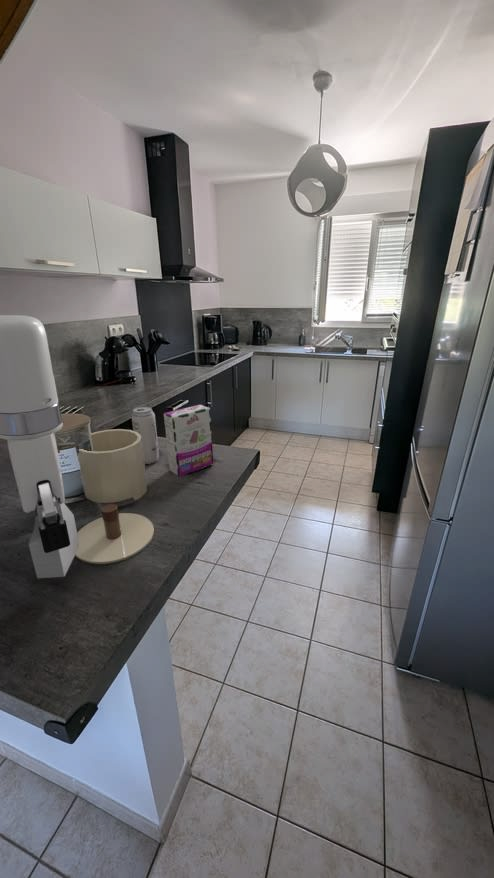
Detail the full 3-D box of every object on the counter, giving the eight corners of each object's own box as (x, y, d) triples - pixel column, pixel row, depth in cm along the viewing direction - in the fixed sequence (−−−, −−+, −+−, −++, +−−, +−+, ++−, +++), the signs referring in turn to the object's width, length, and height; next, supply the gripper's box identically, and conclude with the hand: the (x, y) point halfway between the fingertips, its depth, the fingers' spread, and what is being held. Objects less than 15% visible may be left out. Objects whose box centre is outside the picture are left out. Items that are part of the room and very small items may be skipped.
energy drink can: (159, 464, 97) (154, 412, 92) (136, 466, 96) (129, 413, 90) (159, 455, 103) (154, 405, 97) (137, 457, 101) (131, 407, 96)
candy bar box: (203, 459, 100) (200, 403, 94) (214, 465, 97) (211, 407, 90) (168, 471, 93) (162, 412, 87) (178, 478, 90) (173, 417, 84)
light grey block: (79, 545, 57) (69, 491, 53) (64, 576, 51) (51, 518, 47) (55, 546, 57) (43, 492, 53) (37, 578, 51) (22, 519, 47)
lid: (80, 579, 58) (72, 544, 55) (66, 533, 69) (59, 501, 67) (165, 546, 66) (162, 514, 63) (140, 509, 77) (136, 480, 74)
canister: (93, 516, 74) (81, 458, 69) (80, 489, 85) (69, 436, 80) (155, 497, 81) (149, 443, 76) (136, 474, 92) (130, 425, 87)
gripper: (-8, 404, 50) (19, 510, 57) (-7, 448, 37) (28, 580, 43) (51, 397, 54) (70, 497, 60) (72, 435, 40) (93, 557, 47)
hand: (53, 531), depth 52 cm, fingers closed on light grey block, 7 cm apart
